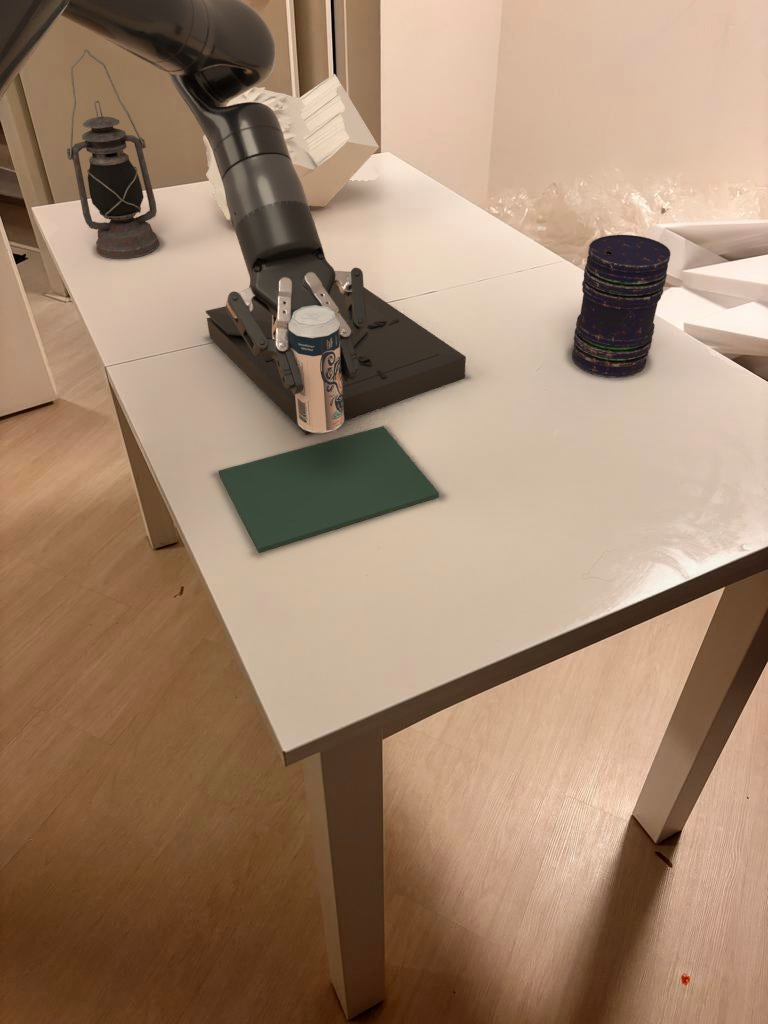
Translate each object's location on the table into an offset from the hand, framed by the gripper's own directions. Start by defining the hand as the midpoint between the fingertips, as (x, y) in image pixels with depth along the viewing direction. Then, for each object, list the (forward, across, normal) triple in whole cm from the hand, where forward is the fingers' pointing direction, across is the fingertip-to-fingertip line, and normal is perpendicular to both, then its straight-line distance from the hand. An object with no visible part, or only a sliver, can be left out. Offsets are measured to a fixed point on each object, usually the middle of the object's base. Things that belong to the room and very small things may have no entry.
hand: (325, 384), depth 77 cm
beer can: (+3, 0, +5) cm, 6 cm away
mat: (+8, 0, +11) cm, 14 cm away
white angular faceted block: (-57, +17, +69) cm, 91 cm away
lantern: (-46, -6, +66) cm, 80 cm away
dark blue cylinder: (+2, +44, +17) cm, 47 cm away
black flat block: (-10, +11, +29) cm, 33 cm away
